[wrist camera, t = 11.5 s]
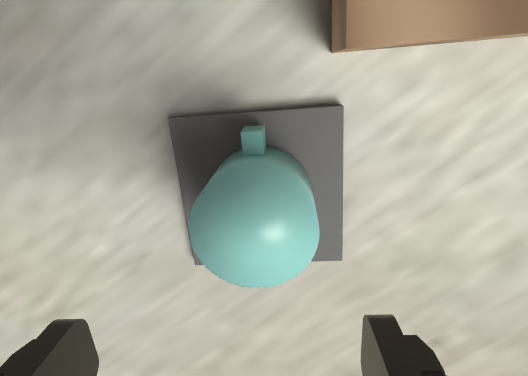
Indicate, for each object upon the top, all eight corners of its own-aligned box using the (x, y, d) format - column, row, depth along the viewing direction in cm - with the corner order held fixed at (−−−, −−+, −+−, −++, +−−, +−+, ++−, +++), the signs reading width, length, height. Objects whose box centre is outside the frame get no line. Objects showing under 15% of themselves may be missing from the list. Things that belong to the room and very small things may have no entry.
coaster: (197, 259, 20) (194, 265, 20) (172, 117, 17) (168, 118, 17) (340, 254, 19) (342, 260, 19) (341, 104, 16) (343, 106, 16)
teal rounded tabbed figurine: (202, 127, 17) (173, 148, 12) (310, 121, 16) (318, 139, 12) (220, 255, 19) (202, 307, 15) (313, 253, 19) (320, 306, 15)
